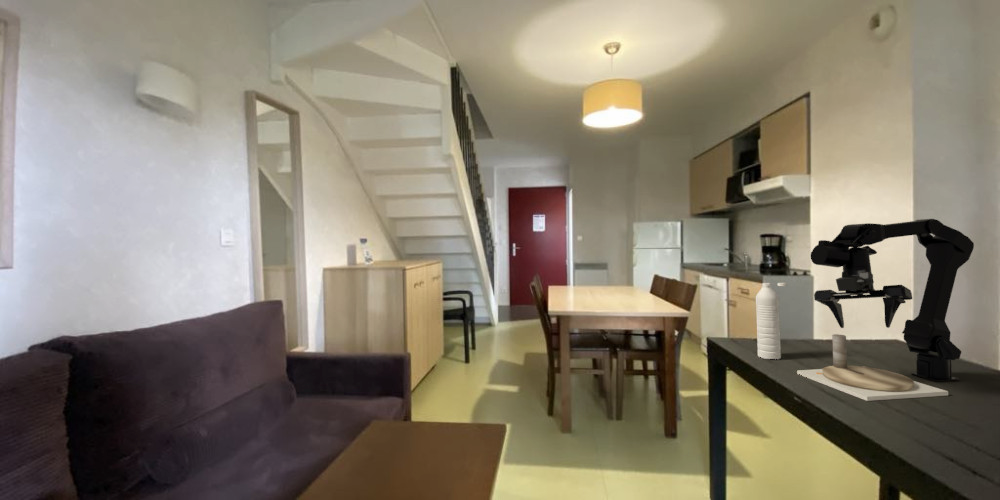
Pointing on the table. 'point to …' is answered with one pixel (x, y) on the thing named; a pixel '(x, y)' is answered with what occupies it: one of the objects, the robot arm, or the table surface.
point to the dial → (862, 372)
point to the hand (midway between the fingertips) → (864, 327)
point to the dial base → (872, 394)
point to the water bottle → (768, 322)
